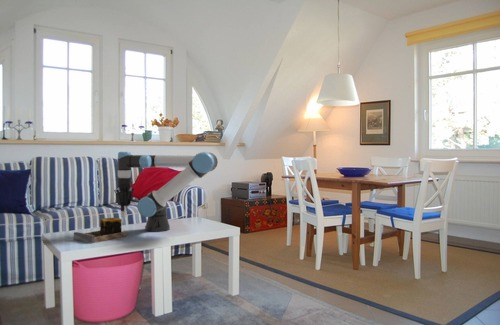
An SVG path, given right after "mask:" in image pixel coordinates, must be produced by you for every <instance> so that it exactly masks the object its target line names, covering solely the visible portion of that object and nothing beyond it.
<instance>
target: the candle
mask: <svg viewBox="0 0 500 325" xmlns="http://www.w3.org/2000/svg"><path fill="white" fill-rule="evenodd" d="M99 220H100V227H99V228H100V229H99V231H100V235H99V236H104V235H109V234H114V233H119V232H123V231H122V230H123V229H122V220H123V219H122V218H120V217H117V216H116V217H104V218H103V217H102V218H99Z"/></svg>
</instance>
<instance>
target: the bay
mask: <svg viewBox="0 0 500 325" xmlns="http://www.w3.org/2000/svg"><path fill="white" fill-rule="evenodd" d="M98 235H99V236H98ZM127 236H128V231H125V230H124V231H122V232H119V233H114V234H109V235H104V236H100V230H94V231H90V232H85V233H84V232H78V231H74V232H73V241H77V242H78V241H79V242H83V243H89V244H95V243H100V242H104V241H110V240H113V239H118V238H119V239H120V238H124V237H127Z"/></svg>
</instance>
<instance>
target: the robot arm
mask: <svg viewBox="0 0 500 325" xmlns="http://www.w3.org/2000/svg"><path fill="white" fill-rule="evenodd" d="M218 164H219V162H218V158H217V156H216V155H215V154H214V153H212V152H207V151H201V152H198V153H196V154H195V155H172V154H171V155H164V154H163V155H161V154H160V155H159V154H158V155H157V154H156V155H152V154H147V155H146V154H140V155H139V154H134V155H133V154H132V152H131V151H119V152H118V153H117V177H118V178H117V188H116V189H114V193H115V196H116V202H117V206H120V212H121V217H123V218H127V215H128V214H127V211H128V207H129V205H131V202H132V196H133V192H134V190H135V188H132V186H131V183H132V182H131V180H132V179H131V176H132V168H136V169H137V168H138V169H147V168H171V169H173V168H174V169H175V168H176V169H178V168H179V169H181V168H183V170H182V171H180V172H179V173H178V174H177V175H175V176H174V177H173V178H172V179H170V180H169V181H167V183H165V184H164V185H163V186H161V187H160V188H159V189H158V190H152V191H151V192H149V193H148V194H147V195H146V196H144V197H142V198H140V199H139V201H138V202H137V207H136V208H137V211H138V214H140V216H142V217H144V218H147V220H146V224H145V226H144V230H145V231H146V232H164V231H165V232H166V231H169V230H171V227H170V226H171V225H170V223H169V220H168V202H169V201H170V200H171V199H172V198H174V197H175V196H176V195H177V194H178V193H180V192H181V191H182V190H184V189H185V188H186V187H187V186H189V185H190V184H191V183H192V182H194V181H195V180H196V179H202V178H203V177H204V176H206V175H207V174H208V173H210V172H212V171H214V170H215V169H216V168H217V166H218Z"/></svg>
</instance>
